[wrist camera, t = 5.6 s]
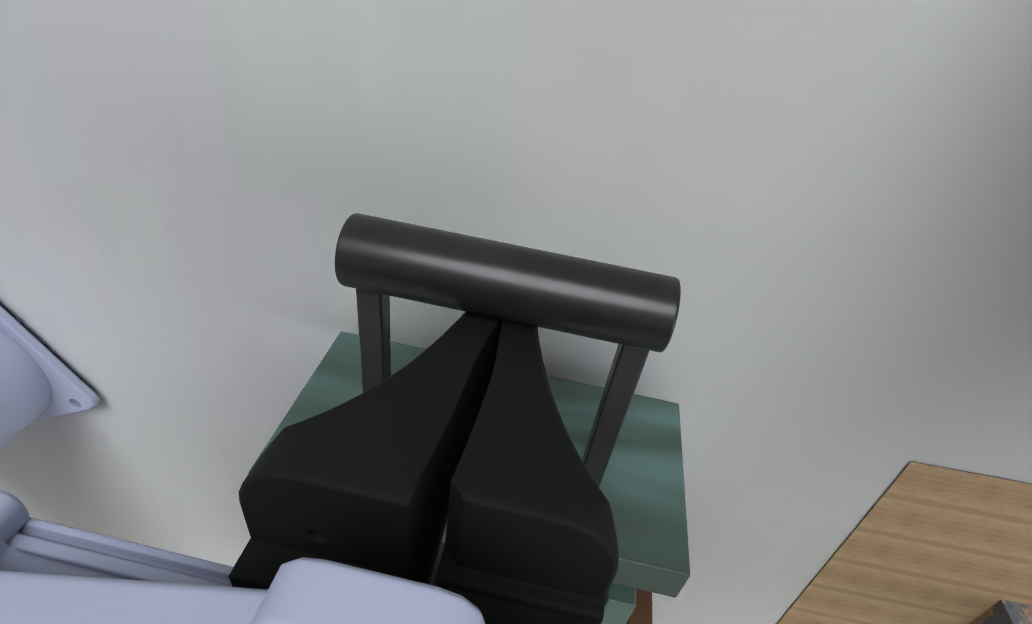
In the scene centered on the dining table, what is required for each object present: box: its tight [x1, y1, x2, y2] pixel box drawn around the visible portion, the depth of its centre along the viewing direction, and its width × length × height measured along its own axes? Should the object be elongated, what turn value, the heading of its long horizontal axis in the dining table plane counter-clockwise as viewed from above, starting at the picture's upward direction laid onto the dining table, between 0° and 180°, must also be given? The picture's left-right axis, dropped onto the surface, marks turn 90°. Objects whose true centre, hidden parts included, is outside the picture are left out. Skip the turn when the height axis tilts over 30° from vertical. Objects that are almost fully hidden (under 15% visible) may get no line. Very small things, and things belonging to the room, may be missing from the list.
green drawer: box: [249, 213, 690, 624], centre depth 18 cm, size 19×11×6 cm, turn 173°
